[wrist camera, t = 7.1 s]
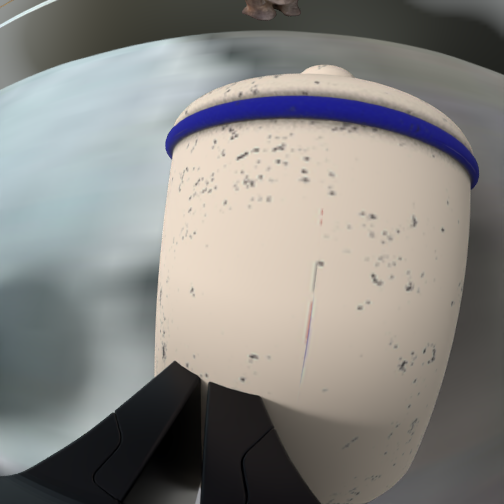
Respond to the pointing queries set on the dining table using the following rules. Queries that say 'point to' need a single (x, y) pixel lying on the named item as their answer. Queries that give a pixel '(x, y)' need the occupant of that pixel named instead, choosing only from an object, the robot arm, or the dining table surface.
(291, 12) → the clay figurine
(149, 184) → the dining table surface
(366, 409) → the teacup with lid
